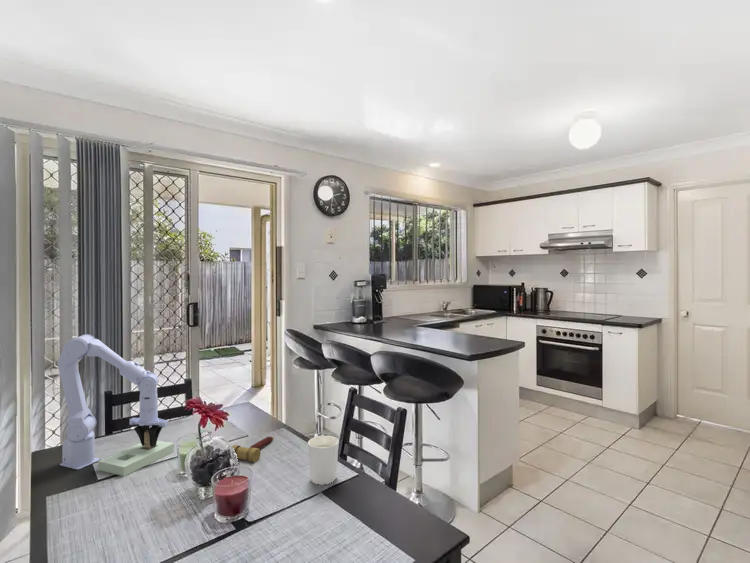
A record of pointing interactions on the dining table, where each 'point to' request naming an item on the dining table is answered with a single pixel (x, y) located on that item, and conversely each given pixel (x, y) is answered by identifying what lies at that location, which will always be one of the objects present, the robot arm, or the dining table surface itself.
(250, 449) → the gavel
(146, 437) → the maple peg
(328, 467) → the candle holder
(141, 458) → the hole board
